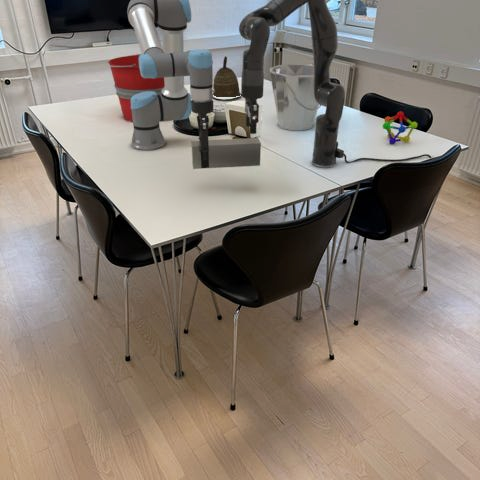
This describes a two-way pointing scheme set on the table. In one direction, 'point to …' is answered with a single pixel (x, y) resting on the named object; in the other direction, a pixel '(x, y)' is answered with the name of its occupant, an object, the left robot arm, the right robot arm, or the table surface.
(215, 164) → the bar
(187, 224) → the table surface
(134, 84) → the bucket
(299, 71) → the bucket
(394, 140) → the educational toy
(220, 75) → the bell
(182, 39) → the left robot arm
